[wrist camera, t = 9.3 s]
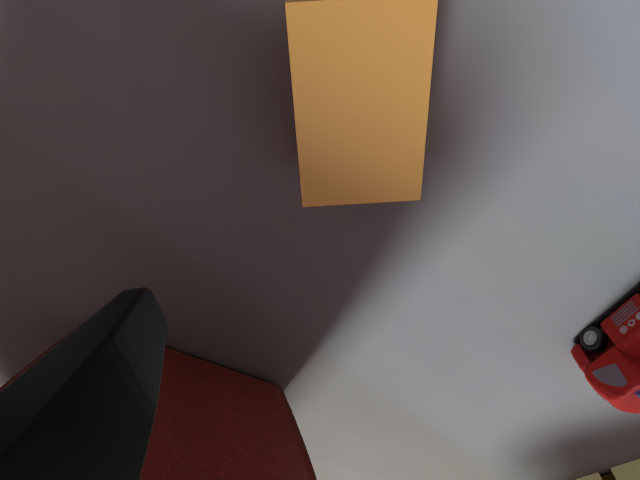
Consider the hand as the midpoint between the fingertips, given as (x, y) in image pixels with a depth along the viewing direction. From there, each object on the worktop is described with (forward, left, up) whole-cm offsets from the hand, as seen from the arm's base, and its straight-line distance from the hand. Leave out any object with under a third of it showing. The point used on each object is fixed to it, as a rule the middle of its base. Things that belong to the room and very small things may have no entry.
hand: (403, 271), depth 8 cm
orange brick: (0, 0, -13) cm, 13 cm away
